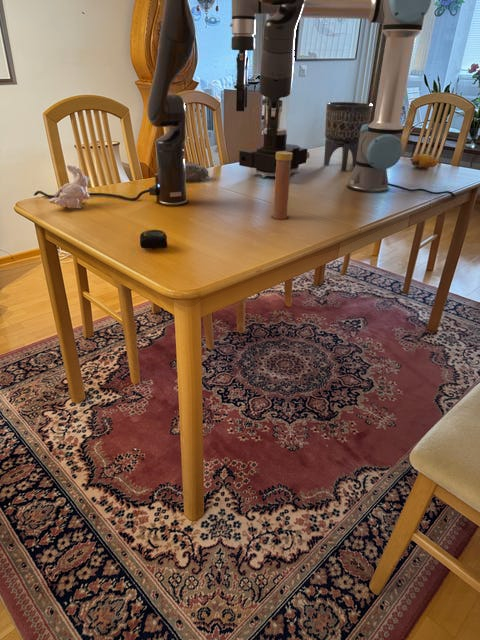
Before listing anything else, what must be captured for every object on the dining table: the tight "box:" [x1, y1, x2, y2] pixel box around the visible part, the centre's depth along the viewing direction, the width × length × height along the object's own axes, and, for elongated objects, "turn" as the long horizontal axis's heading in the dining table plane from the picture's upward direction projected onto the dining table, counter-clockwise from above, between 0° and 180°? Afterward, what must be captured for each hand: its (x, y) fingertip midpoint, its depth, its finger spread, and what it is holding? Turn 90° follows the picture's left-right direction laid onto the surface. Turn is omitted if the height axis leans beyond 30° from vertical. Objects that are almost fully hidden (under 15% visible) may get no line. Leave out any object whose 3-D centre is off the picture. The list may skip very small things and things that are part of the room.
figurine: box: [48, 164, 91, 209], centre depth 145 cm, size 8×15×13 cm, turn 145°
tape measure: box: [139, 229, 168, 250], centre depth 117 cm, size 7×7×4 cm
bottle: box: [272, 160, 291, 220], centre depth 138 cm, size 4×4×19 cm
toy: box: [409, 153, 439, 169], centre depth 213 cm, size 11×6×15 cm
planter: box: [323, 101, 374, 172], centre depth 204 cm, size 20×20×26 cm
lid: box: [276, 151, 292, 161], centre depth 133 cm, size 5×5×2 cm
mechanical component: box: [238, 124, 311, 178], centre depth 191 cm, size 22×21×30 cm
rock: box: [185, 160, 210, 183], centre depth 181 cm, size 13×9×6 cm, turn 131°
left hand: (271, 141), depth 116 cm, fingers open, 8 cm apart
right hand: (241, 109), depth 155 cm, fingers open, 13 cm apart
